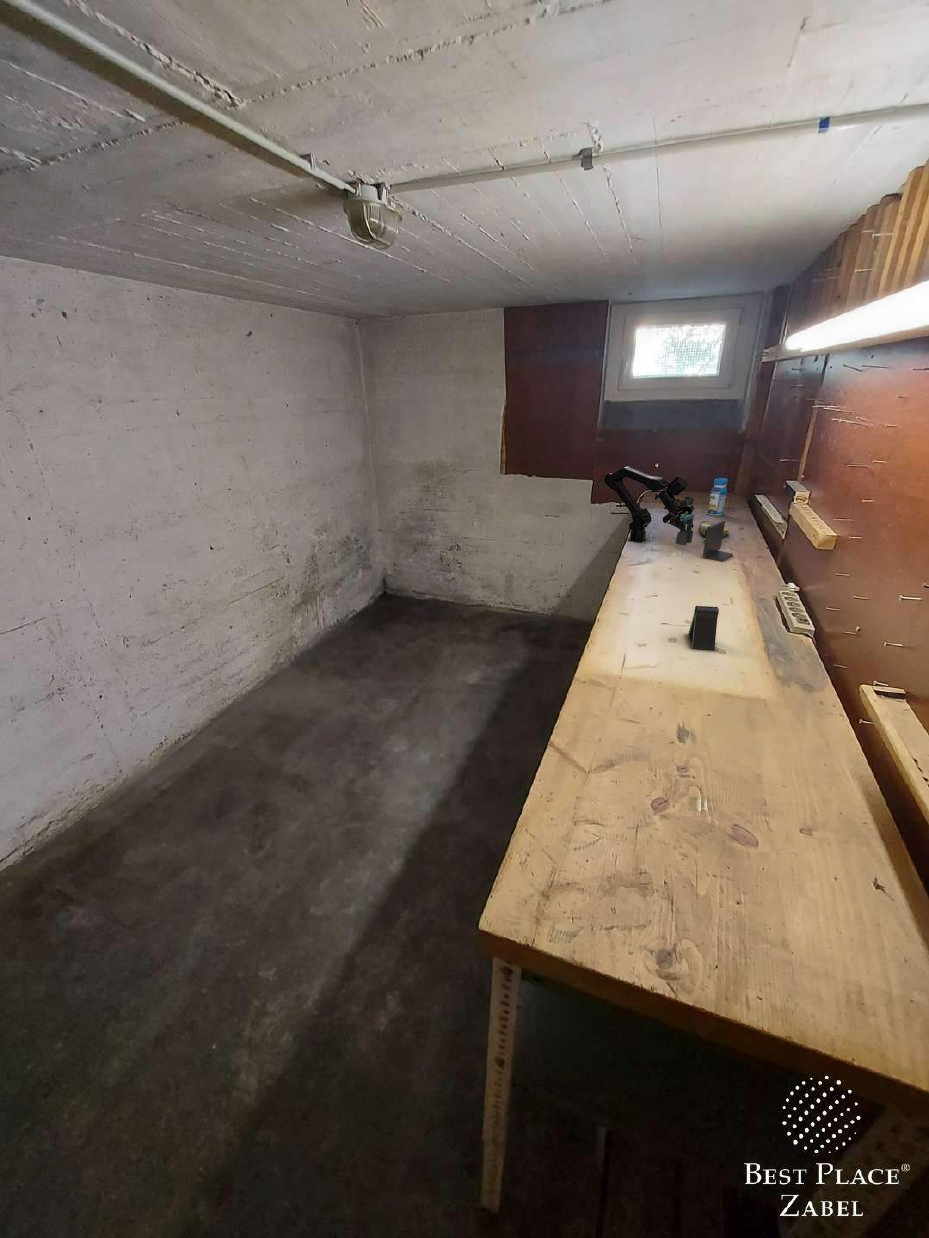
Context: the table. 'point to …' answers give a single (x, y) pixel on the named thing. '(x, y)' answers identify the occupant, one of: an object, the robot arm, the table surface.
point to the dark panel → (715, 542)
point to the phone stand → (703, 627)
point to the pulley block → (704, 530)
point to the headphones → (685, 535)
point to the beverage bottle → (718, 497)
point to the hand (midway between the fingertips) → (688, 529)
